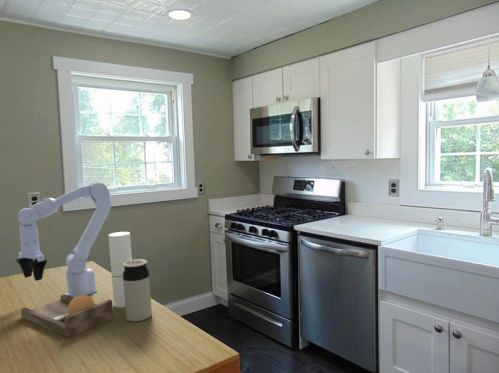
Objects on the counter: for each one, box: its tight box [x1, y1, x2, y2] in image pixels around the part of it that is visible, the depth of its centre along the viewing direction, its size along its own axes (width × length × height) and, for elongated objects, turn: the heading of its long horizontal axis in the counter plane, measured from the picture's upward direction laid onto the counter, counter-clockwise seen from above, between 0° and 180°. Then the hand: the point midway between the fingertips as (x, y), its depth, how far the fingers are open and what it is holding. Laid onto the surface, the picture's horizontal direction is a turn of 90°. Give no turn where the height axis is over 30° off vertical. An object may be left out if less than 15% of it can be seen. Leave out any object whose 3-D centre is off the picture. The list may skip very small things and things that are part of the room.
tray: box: [20, 293, 114, 339], centre depth 124 cm, size 15×28×6 cm, turn 55°
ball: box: [68, 295, 96, 315], centre depth 121 cm, size 8×8×8 cm
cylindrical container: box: [107, 231, 133, 308], centre depth 133 cm, size 7×7×25 cm
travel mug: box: [123, 258, 153, 322], centre depth 122 cm, size 8×8×18 cm
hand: (33, 278), depth 138 cm, fingers open, 7 cm apart
